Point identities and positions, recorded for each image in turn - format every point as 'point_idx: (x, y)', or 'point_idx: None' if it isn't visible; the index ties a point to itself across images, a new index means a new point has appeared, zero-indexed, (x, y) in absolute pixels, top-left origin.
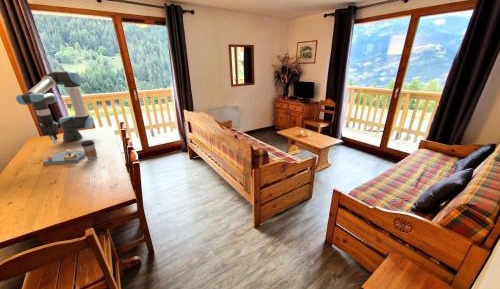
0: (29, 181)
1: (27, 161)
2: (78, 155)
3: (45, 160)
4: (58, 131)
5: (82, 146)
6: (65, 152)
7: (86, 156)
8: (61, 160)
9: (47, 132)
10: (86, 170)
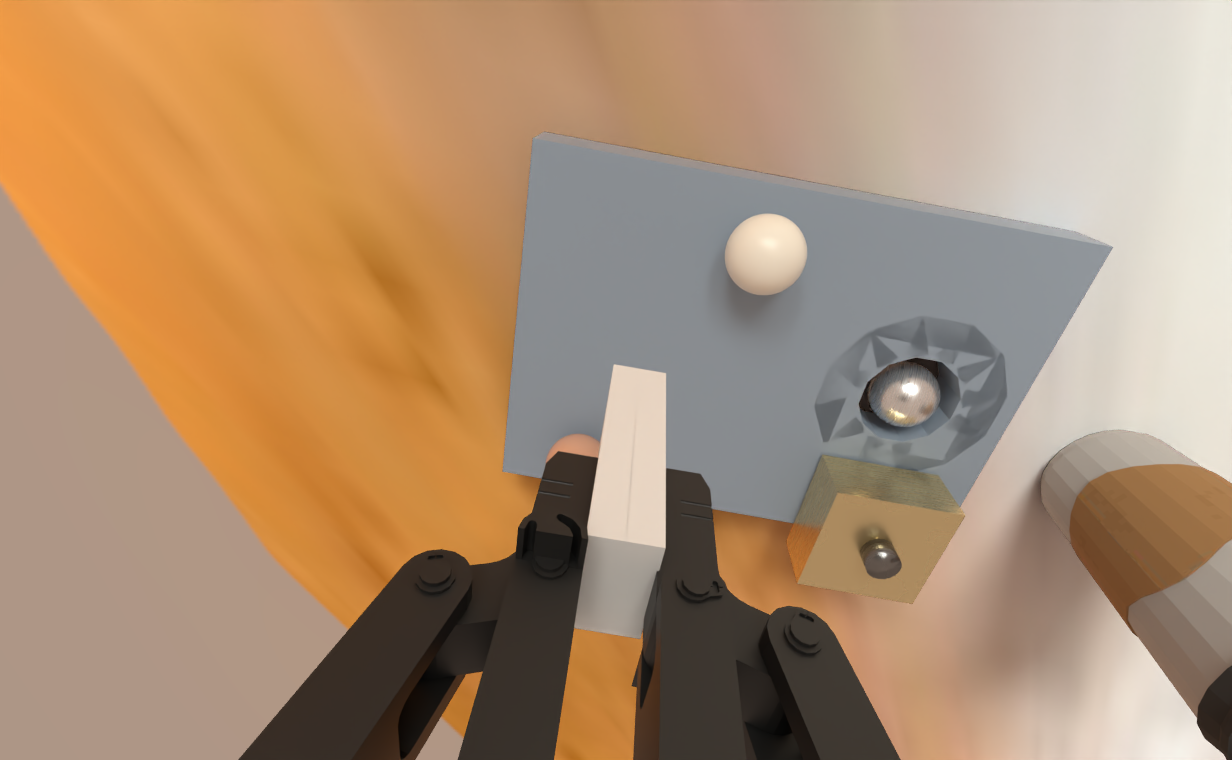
0: (591, 720)
1: (200, 254)
2: (937, 407)
3: (518, 439)
4: (888, 742)
5: (1210, 741)
6: (684, 182)
7: (1076, 553)
8: (738, 506)
9: (389, 664)
10: (1017, 704)
